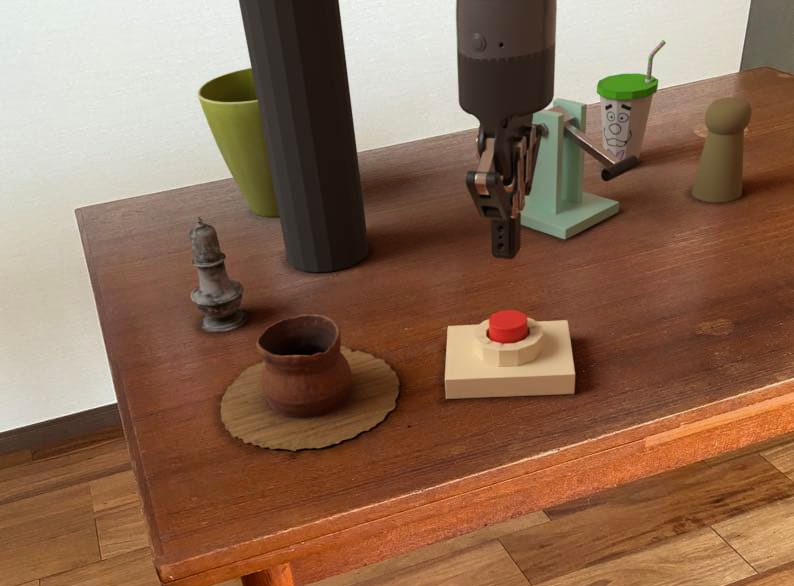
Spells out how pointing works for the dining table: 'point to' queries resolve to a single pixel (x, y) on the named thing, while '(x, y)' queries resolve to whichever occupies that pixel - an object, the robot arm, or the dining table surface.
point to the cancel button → (508, 327)
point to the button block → (509, 362)
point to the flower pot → (241, 136)
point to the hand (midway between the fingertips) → (506, 254)
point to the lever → (595, 148)
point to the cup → (626, 109)
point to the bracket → (562, 179)
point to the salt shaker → (214, 283)
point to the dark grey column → (308, 129)
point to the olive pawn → (723, 151)
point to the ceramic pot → (307, 388)
